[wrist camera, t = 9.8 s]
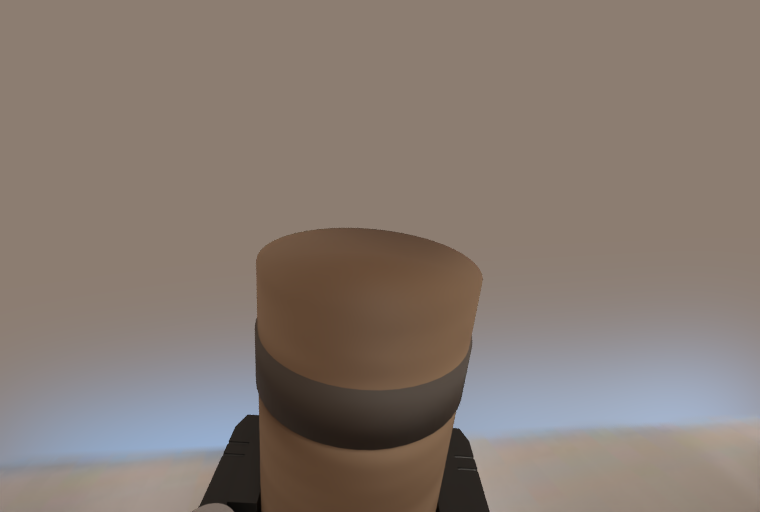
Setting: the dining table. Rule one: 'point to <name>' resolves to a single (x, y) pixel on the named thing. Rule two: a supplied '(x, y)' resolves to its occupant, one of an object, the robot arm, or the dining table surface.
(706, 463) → the dining table surface
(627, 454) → the dining table surface
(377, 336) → the banded wooden cylinder
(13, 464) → the dining table surface
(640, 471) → the dining table surface
